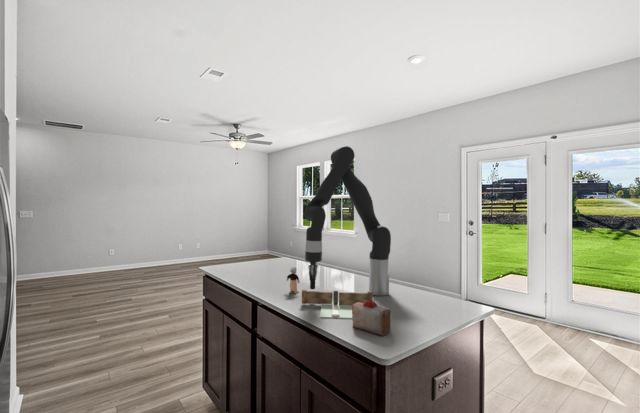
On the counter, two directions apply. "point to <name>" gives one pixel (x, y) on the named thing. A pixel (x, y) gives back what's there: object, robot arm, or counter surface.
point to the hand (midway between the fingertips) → (312, 288)
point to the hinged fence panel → (319, 297)
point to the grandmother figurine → (293, 280)
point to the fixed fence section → (354, 298)
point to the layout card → (336, 311)
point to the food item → (371, 317)
